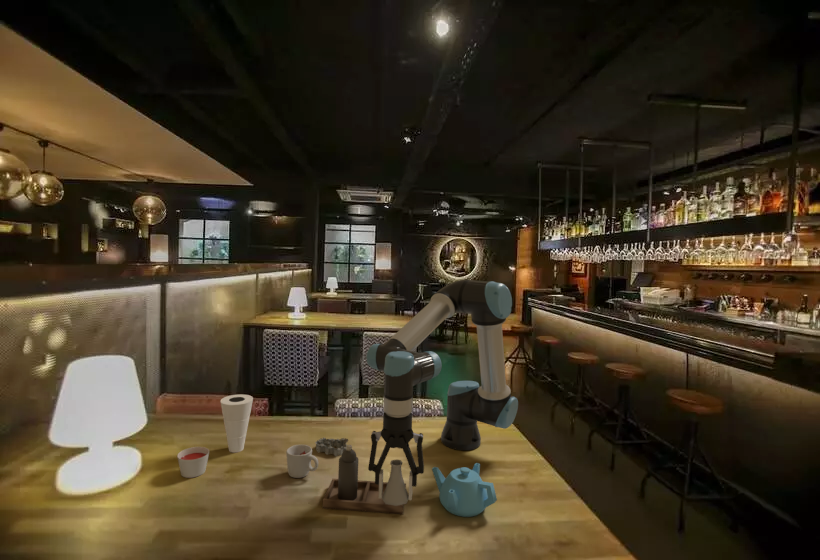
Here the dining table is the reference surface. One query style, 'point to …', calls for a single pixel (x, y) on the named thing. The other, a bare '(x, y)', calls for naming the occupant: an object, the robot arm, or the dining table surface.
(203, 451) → the candle
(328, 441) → the egg carton
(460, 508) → the teapot
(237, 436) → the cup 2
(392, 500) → the flask
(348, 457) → the pepper mill
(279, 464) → the dining table surface
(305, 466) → the cup
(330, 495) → the caddy
